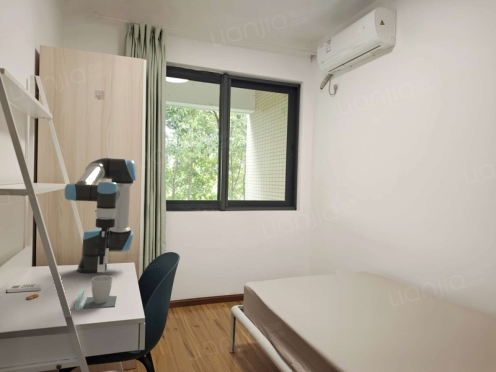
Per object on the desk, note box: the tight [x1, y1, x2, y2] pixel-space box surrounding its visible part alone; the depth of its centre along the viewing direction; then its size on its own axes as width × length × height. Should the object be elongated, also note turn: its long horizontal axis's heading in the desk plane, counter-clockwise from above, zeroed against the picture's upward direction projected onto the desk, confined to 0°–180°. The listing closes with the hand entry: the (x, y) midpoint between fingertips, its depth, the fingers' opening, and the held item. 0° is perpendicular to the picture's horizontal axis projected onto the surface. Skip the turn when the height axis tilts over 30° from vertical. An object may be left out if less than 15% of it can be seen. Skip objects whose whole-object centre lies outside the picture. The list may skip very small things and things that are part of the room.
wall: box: [74, 288, 85, 311], centre depth 133 cm, size 14×1×4 cm, turn 19°
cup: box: [91, 274, 113, 304], centre depth 136 cm, size 8×8×10 cm
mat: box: [82, 295, 118, 310], centre depth 136 cm, size 12×12×1 cm
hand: (102, 267), depth 136 cm, fingers open, 13 cm apart
